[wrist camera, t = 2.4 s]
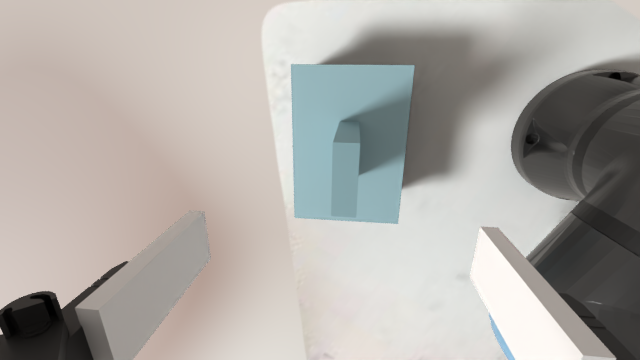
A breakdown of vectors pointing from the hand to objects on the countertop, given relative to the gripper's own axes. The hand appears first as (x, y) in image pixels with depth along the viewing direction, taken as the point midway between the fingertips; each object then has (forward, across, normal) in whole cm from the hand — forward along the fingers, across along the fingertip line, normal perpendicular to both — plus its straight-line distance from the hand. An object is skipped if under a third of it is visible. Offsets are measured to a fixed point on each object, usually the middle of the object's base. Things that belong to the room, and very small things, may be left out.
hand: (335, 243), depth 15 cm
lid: (+20, 0, 0) cm, 20 cm away
